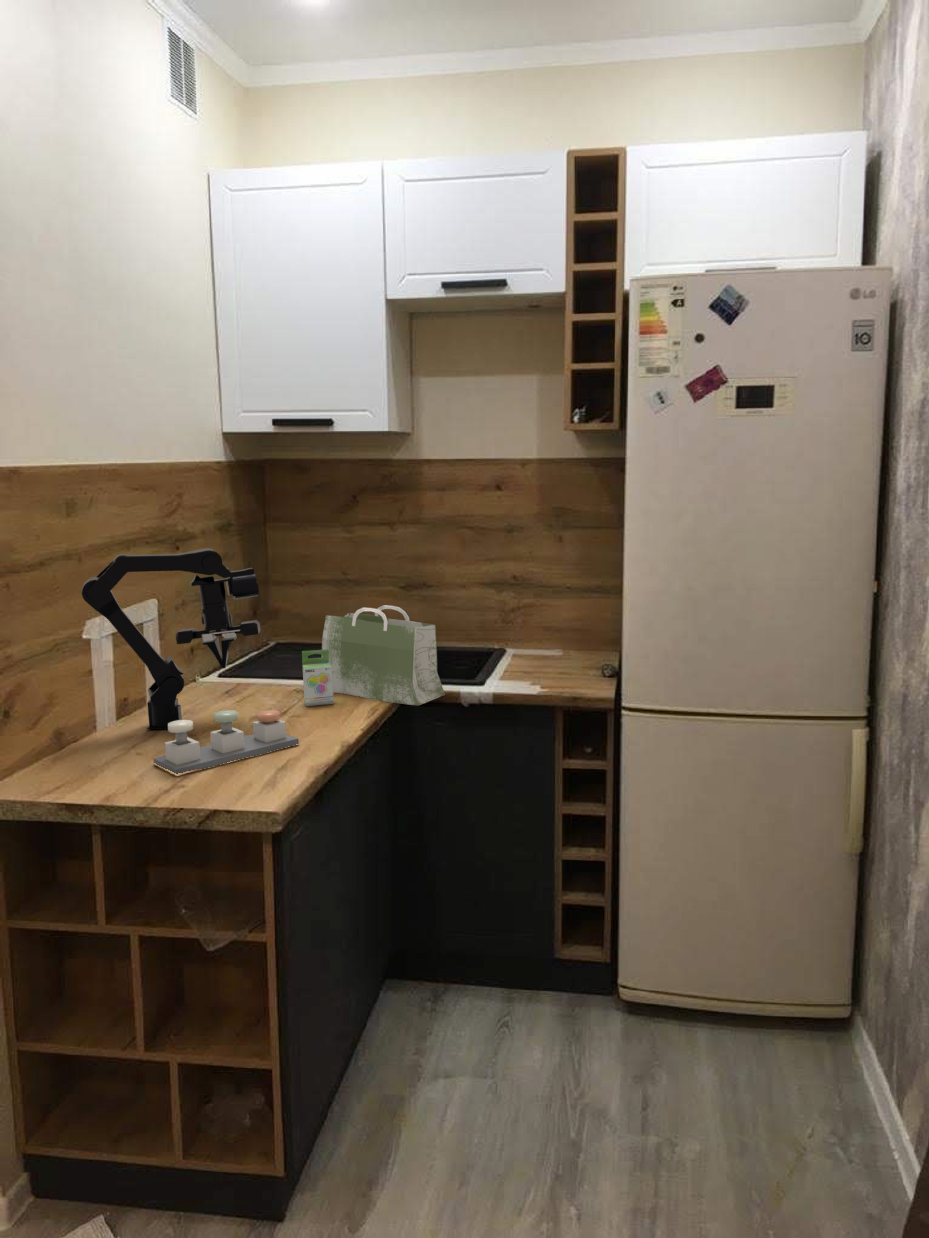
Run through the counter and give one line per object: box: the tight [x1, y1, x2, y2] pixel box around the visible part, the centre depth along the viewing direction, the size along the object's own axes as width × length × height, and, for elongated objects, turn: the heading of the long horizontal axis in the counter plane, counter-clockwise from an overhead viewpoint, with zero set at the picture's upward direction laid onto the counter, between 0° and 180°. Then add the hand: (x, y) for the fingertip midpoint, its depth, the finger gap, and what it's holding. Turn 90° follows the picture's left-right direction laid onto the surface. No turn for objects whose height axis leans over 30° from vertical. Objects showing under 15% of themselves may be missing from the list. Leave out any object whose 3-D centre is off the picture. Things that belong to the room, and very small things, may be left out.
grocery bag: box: [320, 604, 446, 706], centre depth 244 cm, size 32×14×23 cm, turn 58°
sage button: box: [213, 709, 239, 735], centre depth 195 cm, size 5×5×5 cm
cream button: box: [167, 719, 194, 746], centre depth 189 cm, size 5×5×5 cm
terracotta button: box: [256, 709, 281, 725], centre depth 202 cm, size 5×5×5 cm
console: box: [153, 719, 300, 774], centre depth 196 cm, size 10×28×5 cm, turn 132°
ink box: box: [301, 649, 335, 707], centre depth 235 cm, size 7×4×13 cm, turn 105°
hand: (224, 668), depth 221 cm, fingers closed
